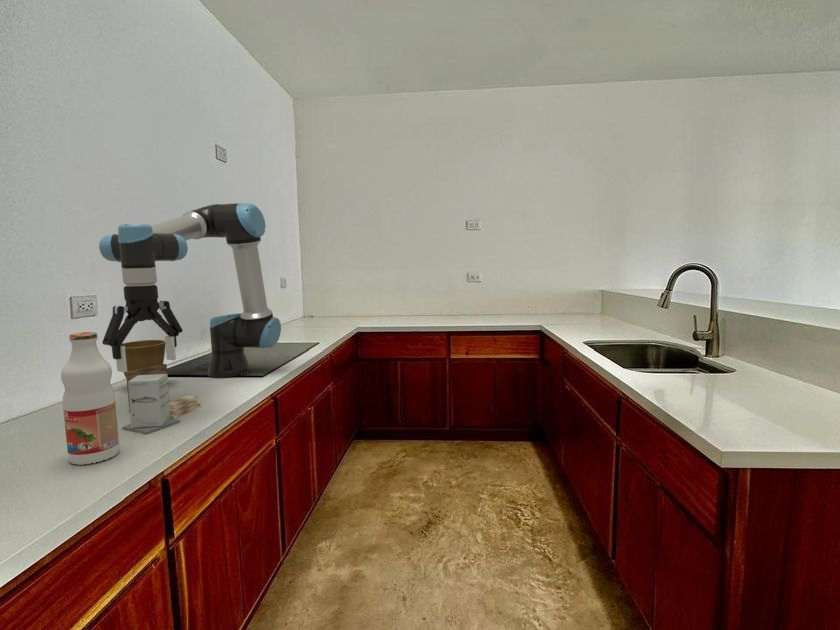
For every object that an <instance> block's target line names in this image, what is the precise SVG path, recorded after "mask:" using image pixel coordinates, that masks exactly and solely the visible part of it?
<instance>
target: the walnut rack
mask: <svg viewBox="0 0 840 630" xmlns="http://www.w3.org/2000/svg"><path fill="white" fill-rule="evenodd" d="M155 374H168V366H167V363H163V364H162V365H157V366H153V367H148V368H144V369H139V370H135V371H130V372H126V377H125V379H126V378H127V379H126V386H127V399H128V401H127V402H128V408H129V410H128V412H129V414H130V402H129V387H128V381H130V380H131V379H133V378H135V377H136V376H138V375H155ZM169 390H170V389H168V392H169Z"/></svg>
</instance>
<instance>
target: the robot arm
mask: <svg viewBox="0 0 840 630" xmlns="http://www.w3.org/2000/svg"><path fill="white" fill-rule="evenodd" d="M265 232H266V221H265V216H264V215H263V212H262V211H261V209H260V208H259V207H258V206H257V205H255V204H253V203H245V202H239V203H238V202H237V203H221V204H220V203H219V204H218V203H217V204H215V203H214V204H210V205H209V204H208V205H206V206H202V207H199V208H196V209H193V210H190V211H186V212H184V213H183V214H182V216H181V217H176V218H173V219H169V220H166V221H163V222H160V223H156V224H153V225H152V224H147V223H122V224H119V226H118V229H117V233H113V234H106V235H104V236H103V237H102V238H101V239H100V240H99V244H98V248H99V252H100V255H101V256H102V257H103V258H104V260H106V261H109V262H118V263H120V264H121V273H122V276H121V277H122V283H123V285H124V286H123V288H122V289H123V298H124V300H125V306H122V305H113V307H112V316H111V318H110V320H109V324H108V327H107V329H106V332H105V334H104V336H103V339H102V341H101V343H102V345H105V346H110V348H111V352H112V359H113V360H115V361H116V370H117V372H120V373H123V372H127V363H126V353H125V346H121V344H122V343H124V341H125V340H126V338H127V337H128V335H129V334H130V332H131V330H132V329H133V328H134V326H135V325H136V324H137V323H138V322H144V321H153V322H154V323H155V324H156V325H157V326H158V327H159V328H160V329H161V330H162V331H163V332H164V333H165V334H166V335H165V336H164V341H165V354H166V361H167V360H169V361H176V360H177V358H176V355H177V354H176V348H177V346H178V343H177V337H179V335H180V334H181V333H182V332H183V329H182V326H181V324H180V323H179V321H178V320H177V318H176V316H175V314H174V313H173V311H172V309H171V304H170V301H168V300H160V301H158V299H159V290H158V285H156V283H158V277H157V267H156V262H175V261H181V260H182V259H184V258H185V257H186V256H187V254H188V251H189V250H188V249H189V247H188V242H187V241H189V240H201V239H204V238H205V239H206V238H225V239H226V244H227V245H228V246H229V247H230V248H232V255H233V258H234V265H235V270H236V276H237V280H238V281H237V282H238V287H239V291H240V297H241V298H240V299H241V303H242V308H243V309H242V310H243V312H241V313H239V312H238V313H230V314H225V315H219V316H213V317H211V318H210V321H209V331H210V332H209V335H210V345H211V347H210V348H211V358H210V362H209V367H208V368H207V375H208V377H210V378H216V379H218V378H223V379H224V378H233V376H235V377H238V376H237V375H240V376H242V375H241V374H244V373H247V372H249V371H251V368H250V364H249V363H248V359H247V356H246V354H245V348H249V349H250V348H251V349H252V348H253V349H256V348H257V349H265V348H266V349H267V348H268V349H272V348H273V347H275V346H276V345H277V343H279V340H280V338H281V332H282V324H281V323H282V322H281V321H280V319H279V318H278V317H275V316H274V315H273V310H272V309H270V308H269V307H268V303H267V302H268V301H267V297H266V291H265V284H264V277H263V271H262V265H261V259H260V254H259V247H258V245H259V244H260V243H261V241H262V240H261V239H262V238H261V237H263V236H264V235H265ZM158 310H160V312H161V313H162V315H163V316H164V318H165V319H164V318H163V316H162V315H161V314H160V312H159V311H158ZM126 314H127V315H126ZM124 315H126V316H125V318H124ZM123 320H124V321H123ZM122 322H123V323H122ZM249 373H250V372H249ZM247 374H248V373H247ZM244 375H245V374H244Z"/></svg>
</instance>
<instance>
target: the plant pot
mask: <svg viewBox="0 0 840 630" xmlns="http://www.w3.org/2000/svg"><path fill="white" fill-rule="evenodd" d="M121 346H125V353H126V363H127V372H130V371H135V370H139V369H144V368H148V367H153V366H157V365H162V364H164V363H165V354H166V345H165V339H164V340H163V339H143V340H134V341H127V342H123V343H122V344H121ZM122 373H123V375H124V377H125V379H126V380H127V378H126V372H122Z"/></svg>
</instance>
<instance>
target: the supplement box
mask: <svg viewBox="0 0 840 630" xmlns="http://www.w3.org/2000/svg"><path fill="white" fill-rule="evenodd" d="M168 376H169V375H168V373H167V374H155V375H138V376H136V377H135V378H133V379H131V380H130V381H128V387H129V401H128V403H129V402H130V413H129V415H130V424H131V428H139V427H155V426H158V427H159V426H162V425H163V424H164V423H165V422H166V421H167V420H168V419H169V418H170V409H169V402H170V394H169V392H168V390H169V377H168Z"/></svg>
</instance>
